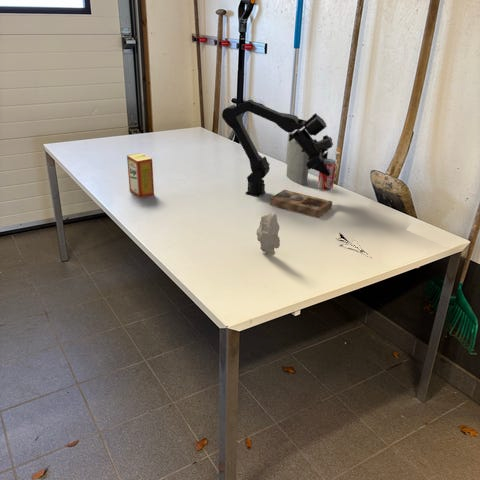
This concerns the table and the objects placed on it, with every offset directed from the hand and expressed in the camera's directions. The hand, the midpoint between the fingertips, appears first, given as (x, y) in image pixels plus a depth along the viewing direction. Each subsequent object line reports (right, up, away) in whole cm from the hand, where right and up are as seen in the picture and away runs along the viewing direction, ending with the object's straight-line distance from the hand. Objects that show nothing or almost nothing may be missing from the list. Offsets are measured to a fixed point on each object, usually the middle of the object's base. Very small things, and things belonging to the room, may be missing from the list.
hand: (330, 173), depth 193 cm
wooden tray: (-12, -13, +2) cm, 18 cm away
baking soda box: (-78, -7, +11) cm, 79 cm away
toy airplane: (+2, -29, -27) cm, 40 cm away
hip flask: (-10, +1, +31) cm, 33 cm away
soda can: (-1, -6, +4) cm, 7 cm away
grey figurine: (-28, -32, -35) cm, 55 cm away
